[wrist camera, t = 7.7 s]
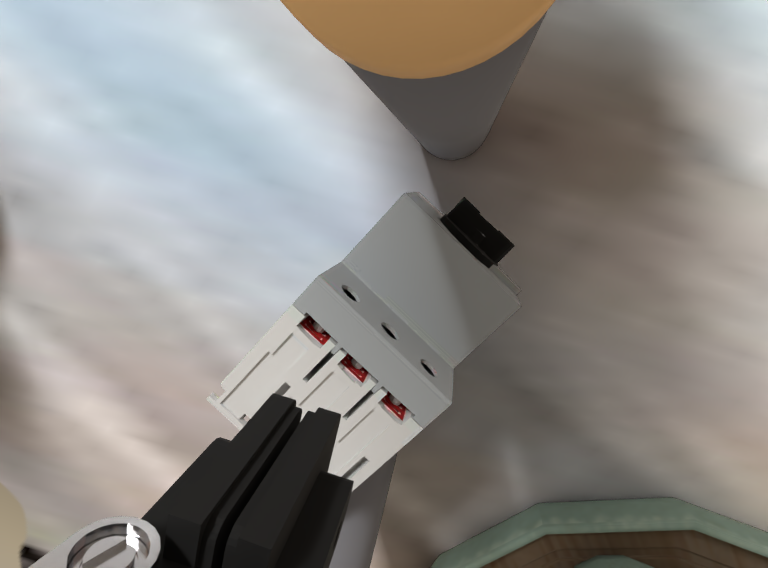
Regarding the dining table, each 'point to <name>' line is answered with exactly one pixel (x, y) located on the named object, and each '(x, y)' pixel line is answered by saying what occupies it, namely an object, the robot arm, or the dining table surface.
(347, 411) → the circuit breaker
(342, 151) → the dining table surface
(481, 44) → the post
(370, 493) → the post
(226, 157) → the dining table surface
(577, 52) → the dining table surface
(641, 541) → the tea set
